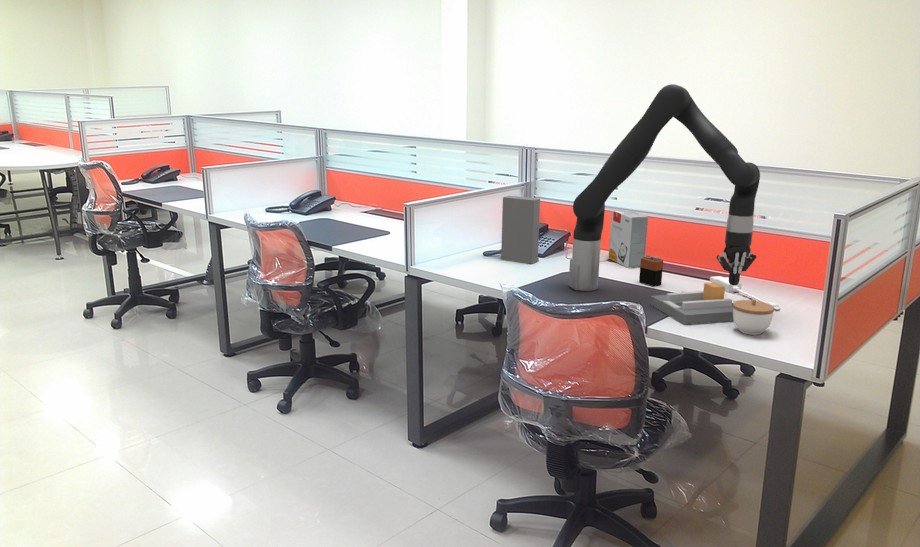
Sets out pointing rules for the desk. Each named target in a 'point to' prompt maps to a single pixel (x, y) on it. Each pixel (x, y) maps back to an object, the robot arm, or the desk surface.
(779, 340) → the desk surface
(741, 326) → the lidded jar
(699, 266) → the desk surface
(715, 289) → the handle
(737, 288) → the charging cable
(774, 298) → the desk surface
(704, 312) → the tray
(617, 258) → the hard drive box
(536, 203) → the tall grey upright block
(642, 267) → the battery
